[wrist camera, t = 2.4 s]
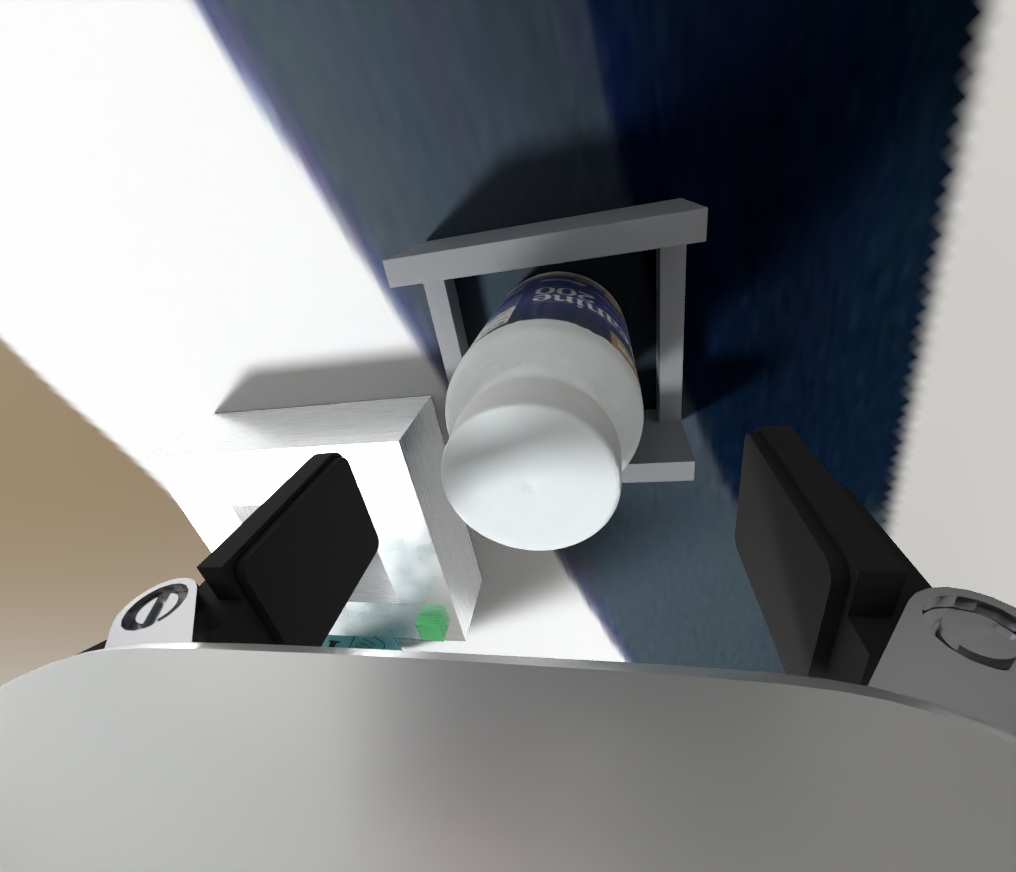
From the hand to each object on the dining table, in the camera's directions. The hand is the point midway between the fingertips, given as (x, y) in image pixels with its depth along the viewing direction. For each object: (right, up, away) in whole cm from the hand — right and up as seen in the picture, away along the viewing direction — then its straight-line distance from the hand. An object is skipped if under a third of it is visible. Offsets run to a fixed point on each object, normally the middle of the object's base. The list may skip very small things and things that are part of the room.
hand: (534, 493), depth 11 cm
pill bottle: (+1, +5, +7) cm, 9 cm away
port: (-9, -2, +14) cm, 17 cm away
